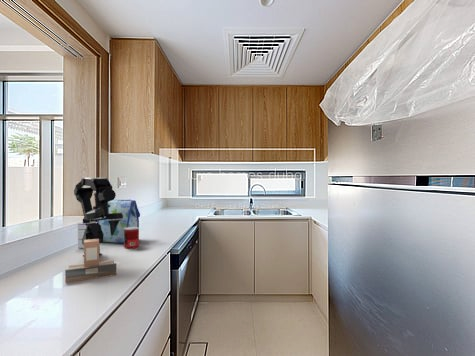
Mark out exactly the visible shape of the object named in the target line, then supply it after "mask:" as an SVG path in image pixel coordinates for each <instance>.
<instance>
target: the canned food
mask: <svg viewBox="0 0 475 356" xmlns="http://www.w3.org/2000/svg"><path fill="white" fill-rule="evenodd" d="M139 237H140V226H139V227H127V228H124V243H123V244H124V245H123V247H124V249H131V248H132V249H136V248H138V247H139V246H140V238H139Z"/></svg>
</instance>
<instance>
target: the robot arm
mask: <svg viewBox="0 0 475 356" xmlns="http://www.w3.org/2000/svg"><path fill="white" fill-rule="evenodd" d="M73 196H75V199H76V200H77V202H79V203H80V206H81V209H82V213H83V219H82V222H83V224H84V223H86V224H85V225H86V229H85V231H84V235H83V238H82V244H83V245H84V240H89V239H99V244H103V236H104V234H103V231H102V229H101V225H100V224H99V223H97V221H100V220H107V219H109V220H110V221H108V222H109V224H110V231H111V236H113V235H114V232H115V230H116V227H117V225H118V223H119V221H121V220H120V219H122V218H123V214H122V213H112V214H111V213H110V214H109V207H110V205H108V202H109V201H112V200H116V199H115V198H116V197H117V195H116V192H115V191H114V190H113V185H112V184H111V182H110V180H109V179H108V178H107V177H81V180H80V181H79V182H78V183H77V184H76V185H75V187H74V190H73ZM92 196H93V197H94V206H93V205H92V201H91V198H92ZM104 217H106V218H104ZM101 255H103V253H101V247H100V245H99V256H101ZM82 257H84V254H83V255H82Z"/></svg>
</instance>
